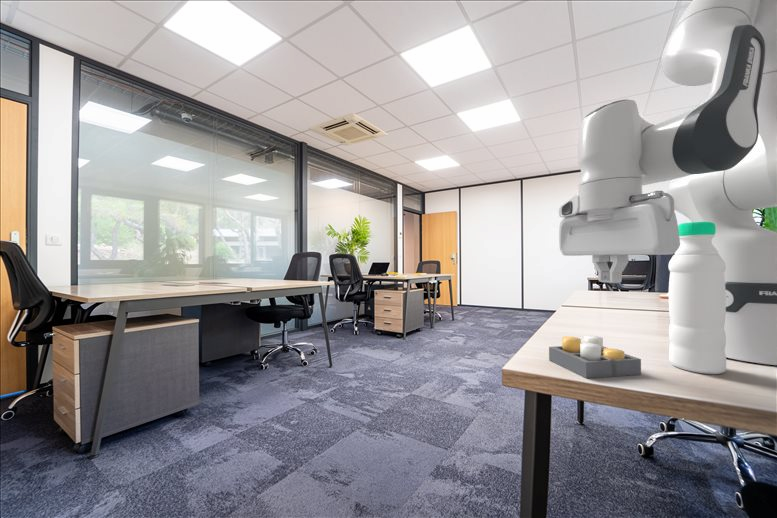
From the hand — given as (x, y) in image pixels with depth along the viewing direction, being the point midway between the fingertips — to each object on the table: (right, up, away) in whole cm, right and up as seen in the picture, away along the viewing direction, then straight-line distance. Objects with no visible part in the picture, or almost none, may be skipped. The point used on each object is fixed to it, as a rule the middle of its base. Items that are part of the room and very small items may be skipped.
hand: (609, 282), depth 54 cm
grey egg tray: (-2, -15, +2) cm, 15 cm away
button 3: (0, -13, +4) cm, 14 cm away
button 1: (-5, -13, +3) cm, 14 cm away
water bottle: (+15, -15, +1) cm, 21 cm away
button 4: (0, -14, 0) cm, 14 cm away
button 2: (-4, -13, -1) cm, 14 cm away
